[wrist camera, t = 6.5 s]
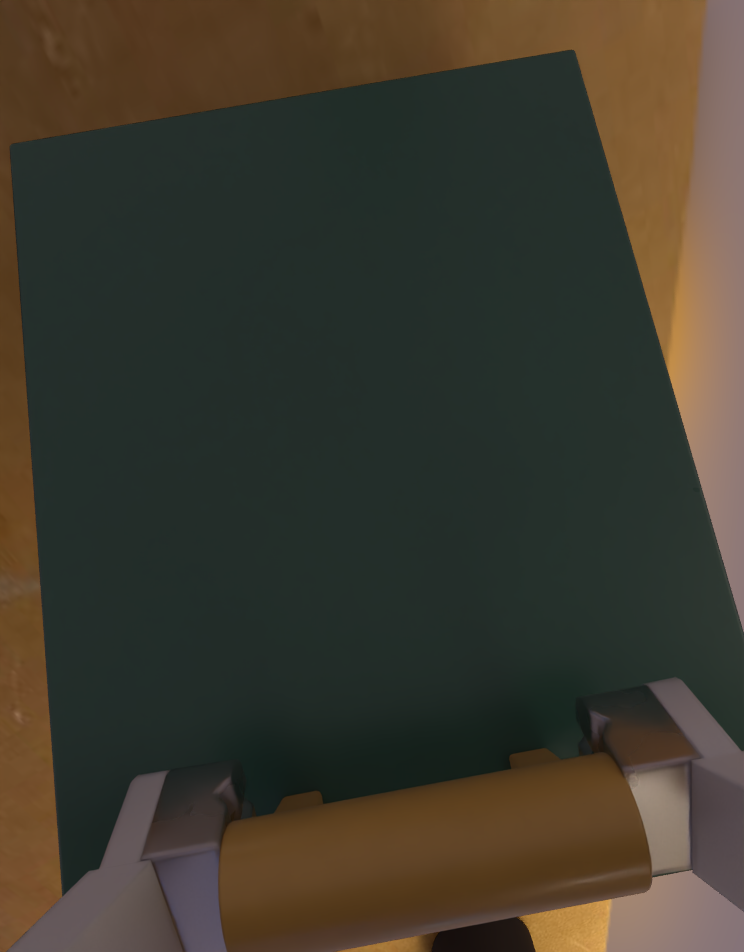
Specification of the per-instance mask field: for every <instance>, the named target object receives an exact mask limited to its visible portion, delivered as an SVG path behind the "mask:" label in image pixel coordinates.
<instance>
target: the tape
mask: <svg viewBox="0 0 744 952" xmlns="http://www.w3.org/2000/svg"><path fill="white" fill-rule="evenodd" d="M432 952H535V948H534V945H533V942H532V939H531V935H530V933H529V930H528V929H527V927H526V926H525V925H524V923H523V922H522V921H520V920H519V919H518V918H516V917H513V918H508V919H503V920H498V921H492V922H487V923H482V924H477V925H471V926H466V927H461V928H456V929H450V930H445V931H440V933H439V934H438V935H437V937H436V939H435V941H434V943H433V947H432Z"/></svg>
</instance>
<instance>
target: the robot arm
mask: <svg viewBox="0 0 744 952" xmlns="http://www.w3.org/2000/svg"><path fill="white" fill-rule="evenodd" d="M575 710H576V721H577V723H578V724H579V726H580V728H581V730H582V732H583V734H584V736H583V738H582V739H581V741H580V743H579V744H578V748H579V756H583V755H589V754H594V753H600V752H604V753H607V754H608V755H610V757H611V758H612V759H613V760H614V761H615V763H616V764H617V766H618V767H619V769H620V771H621V773H622V774H623V776H624V778H626V780H627V782H628V784H629V786H630V788H631V790H632V793H633V795H634V798H635V800H636V803H637V806H638V808H639V811H640V814H641V817H642V821H643V824H644V828H645V831H646V835H647V839H648V844H649V849H650V855H651V862H652V875H658V874H664V873H671V872H677V871H684V870H690V869H693V873H694V874H695V875H697V876H698V877H699V878H701V879H702V880H703V881H704V882H706V883H707V884H708V885H710V886H711V887H712V888H714V889H715V890H716V891H718V892H719V893H720V894H721V895H723V896H724V897H726V898H727V899H728V900H729V901H730V902H732V903H733V904H734V905H736V906H737V907H738V908H740V909H741V910H742V911H744V751H741V750H740V749H739V747H738V746H737V745H736V744H735V743H734V742H733V740H732V739H731V738H730V737H729V736H728V734H727V733H726V732H725V731H724V730H723V728H722V727H721V726H720V725H719V724H718V723H717V721H716V720H715V719H714V718H713V717H712V715H711V714H710V713H709V712H708V711H707V709H706V708H705V707H704V706H703V705H702V703H701V702H700V701H699V700H698V699H697V698H696V696H695V695H694V694H693V693H692V692H691V690H690V689H689V688H688V687H687V686H686V684H685V683H684V682H683V681H682V680H680V679H678V678H676V677H674V678H669V679H664V680H659V681H654V682H649V683H645V684H642V685H639V686H634V687H628V688H623V689H618V690H612V691H607V692H602V693H597V694H591V695H586V696H581V697H576V704H575ZM245 788H246V777H245V774H244V771H243V768H242V764H241V762H240V761H239V760H237V759H233V760H226V761H220V762H213V763H207V764H201V765H194V766H188V767H182V768H175V769H171V770H166V771H160V772H154V773H148V774H142V775H137V776H136V777H135V778H134V779H133V780H132V782H131V783H130V786H129V789H128V791H127V794H126V797H125V799H124V802H123V805H122V808H121V810H120V813H119V816H118V819H117V821H116V824H115V827H114V829H113V832H112V835H111V838H110V840H109V843H108V846H107V849H106V851H105V854H104V857H103V860H102V862H101V865H100V868H99V869H97V870H92V871H88V872H87V873H86V874H85V875H84V876H83V877H82V878H81V879H80V880H79V881H78V882H77V883H76V884H75V885H74V886H73V887H72V888H71V889H70V890H69V891H68V892H67V893H66V894H65V895H64V896H63V897H62V898H61V899H60V900H59V901H58V902H57V903H56V904H54V905H53V906H52V907H51V908H50V909H49V910H48V911H47V912H46V913H45V914H44V915H43V916H42V917H41V918H40V919H39V920H38V921H37V922H36V923H35V924H34V925H33V926H32V927H31V928H30V929H29V930H28V931H27V932H26V933H25V934H24V935H23V936H22V937H21V938H20V939H19V940H18V941H17V942H16V943H15V944H14V945H13V946H12V947H11V948H10V949H8V950H7V951H6V952H227V950H226V946H225V943H224V938H223V934H222V928H221V921H220V912H219V899H218V865H219V854H220V848H221V842H222V837H223V834H224V831H225V829H226V827H227V825H228V824H229V823H230V822H232V821H235V820H241V819H246V818H251V817H257V816H256V812H255V808H254V805H253V803H251V802H250V801H249V800H247V799H246V798H245V797H244V795H245Z"/></svg>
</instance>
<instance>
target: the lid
mask: <svg viewBox="0 0 744 952" xmlns="http://www.w3.org/2000/svg"><path fill="white" fill-rule="evenodd" d="M10 159H11V173H12V187H13V202H14V216H15V230H16V244H17V258H18V273H19V287H20V301H21V315H22V329H23V344H24V358H25V372H26V386H27V400H28V415H29V429H30V443H31V457H32V471H33V486H34V500H35V514H36V528H37V542H38V556H39V571H40V585H41V599H42V613H43V627H44V642H45V656H46V670H47V684H48V698H49V713H50V727H51V741H52V755H53V769H54V784H55V798H56V812H57V826H58V840H59V855H60V869H61V883H62V897H63V896H64V895H65V894H66V893H67V892H68V891H69V890H70V889H71V888H72V887H73V886H74V885H75V884H76V883H77V882H78V881H79V880H80V879H81V878H82V877H83V876H84V875H85V874H86V873H87V872H88V871H92V870H97V869H99V868H100V865H101V862H102V860H103V857H104V854H105V851H106V849H107V846H108V843H109V840H110V838H111V835H112V832H113V829H114V827H115V824H116V821H117V819H118V816H119V813H120V810H121V808H122V805H123V802H124V799H125V797H126V794H127V791H128V789H129V786H130V783H131V782H132V780H133V779H134V778H135V777H136V776H137V775H142V774H148V773H154V772H160V771H166V770H171V769H175V768H182V767H188V766H194V765H201V764H207V763H213V762H220V761H226V760H233V759H237V760H239V761H240V762H241V764H242V768H243V771H244V774H245V777H246V788H245V795H244V797H245V798H246V799H247V800H249V801H250V802H251V803H253V805H254V808H255V812H256V816H257V817H251V818H246V819H241V820H235V821H232V822H230V823H229V824H228V825H227V827H226V829H225V831H224V834H223V837H222V842H221V848H220V854H219V865H218V899H219V912H220V921H221V928H222V934H223V938H224V943H225V946H226V950H227V952H335V951H340V950H345V949H351V948H356V947H361V946H366V945H372V944H377V943H382V942H387V941H393V940H398V939H403V938H408V937H414V936H419V935H424V934H429V933H435V932H440V931H445V930H450V929H456V928H461V927H466V926H471V925H477V924H482V923H487V922H492V921H498V920H503V919H508V918H513V917H519V916H524V915H529V914H534V913H540V912H545V911H550V910H555V909H561V908H566V907H571V906H576V905H582V904H587V903H592V902H597V901H603V900H608V899H613V898H618V897H624V896H628V895H634V894H639V893H644V892H646V891H648V890H649V889H650V887H651V884H652V877H657V876H662V875H668V874H673V873H678V872H683V871H677V872H671V873H664V874H658V875H652V862H651V855H650V849H649V844H648V839H647V835H646V831H645V828H644V824H643V821H642V817H641V814H640V811H639V808H638V806H637V803H636V800H635V798H634V795H633V793H632V790H631V788H630V786H629V784H628V782H627V780H626V778H624V776H623V774H622V773H621V771H620V769H619V767H618V766H617V764H616V763H615V761H614V760H613V759H612V758H611V757H610V755H608V754H607V753H604V752H600V753H594V754H589V755H583V756H579V748H578V744H579V743H580V741H581V739H582V738H583V736H584V734H583V732H582V730H581V728H580V726H579V724H578V723H577V721H576V710H575V704H576V697H581V696H586V695H591V694H597V693H602V692H607V691H612V690H618V689H623V688H628V687H634V686H639V685H642V684H645V683H649V682H654V681H659V680H664V679H669V678H674V677H676V678H678V679H680V680H682V681H683V682H684V683H685V684H686V686H687V687H688V688H689V689H690V690H691V692H692V693H693V694H694V695H695V696H696V698H697V699H698V700H699V701H700V702H701V703H702V705H703V706H704V707H705V708H706V709H707V711H708V712H709V713H710V714H711V715H712V717H713V718H714V719H715V720H716V721H717V723H718V724H719V725H720V726H721V727H722V728H723V730H724V731H725V732H726V733H727V734H728V736H729V737H730V738H731V739H732V740H733V742H734V743H735V744H736V745H737V746H738V747H739V749H740V750H741V751H744V632H743V629H742V626H741V622H740V619H739V615H738V612H737V609H736V605H735V602H734V598H733V594H732V591H731V588H730V584H729V581H728V578H727V574H726V570H725V567H724V563H723V560H722V557H721V554H720V550H719V547H718V543H717V540H716V536H715V533H714V529H713V526H712V522H711V519H710V515H709V512H708V509H707V505H706V501H705V498H704V495H703V491H702V488H701V484H700V481H699V477H698V474H697V470H696V467H695V464H694V460H693V457H692V453H691V450H690V446H689V443H688V440H687V436H686V433H685V429H684V426H683V422H682V419H681V415H680V412H679V408H678V405H677V402H676V398H675V395H674V391H673V388H672V384H671V381H670V377H669V374H668V370H667V367H666V364H665V360H664V357H663V353H662V350H661V346H660V343H659V339H658V336H657V333H656V329H655V326H654V322H653V319H652V315H651V312H650V308H649V305H648V302H647V298H646V295H645V291H644V288H643V284H642V281H641V277H640V274H639V271H638V267H637V264H636V260H635V257H634V253H633V250H632V246H631V243H630V240H629V236H628V233H627V229H626V226H625V222H624V219H623V215H622V212H621V209H620V205H619V202H618V198H617V195H616V191H615V188H614V184H613V181H612V177H611V174H610V171H609V167H608V164H607V160H606V157H605V153H604V150H603V146H602V143H601V140H600V136H599V133H598V129H597V126H596V122H595V119H594V115H593V112H592V109H591V105H590V102H589V98H588V95H587V91H586V88H585V84H584V81H583V78H582V74H581V71H580V67H579V64H578V60H577V57H576V53H575V51H574V50H566V51H560V52H554V53H548V54H542V55H537V56H531V57H525V58H519V59H513V60H507V61H501V62H495V63H489V64H483V65H477V66H471V67H465V68H459V69H453V70H447V71H442V72H436V73H430V74H424V75H418V76H412V77H406V78H400V79H394V80H388V81H382V82H376V83H370V84H364V85H358V86H352V87H347V88H341V89H335V90H329V91H323V92H317V93H311V94H305V95H299V96H293V97H287V98H281V99H275V100H269V101H263V102H258V103H252V104H246V105H240V106H234V107H228V108H222V109H216V110H210V111H204V112H198V113H192V114H186V115H180V116H174V117H168V118H163V119H157V120H151V121H145V122H139V123H133V124H127V125H121V126H115V127H109V128H103V129H97V130H91V131H85V132H79V133H74V134H68V135H62V136H56V137H50V138H44V139H38V140H32V141H26V142H20V143H14V144H11V145H10ZM690 870H693V869H690ZM684 871H689V870H684Z"/></svg>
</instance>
